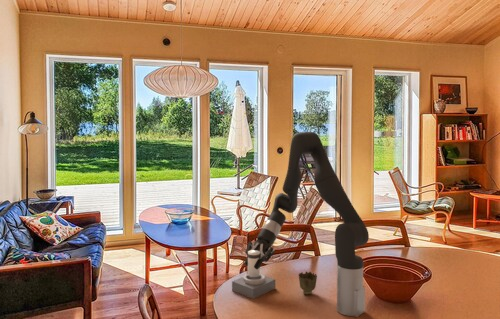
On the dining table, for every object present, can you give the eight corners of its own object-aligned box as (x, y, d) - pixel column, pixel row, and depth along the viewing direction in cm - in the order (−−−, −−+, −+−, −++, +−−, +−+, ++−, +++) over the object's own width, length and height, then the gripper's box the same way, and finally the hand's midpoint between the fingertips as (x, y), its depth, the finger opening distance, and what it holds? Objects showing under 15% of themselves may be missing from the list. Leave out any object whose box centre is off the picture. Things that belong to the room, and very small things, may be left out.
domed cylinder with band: (262, 274, 159) (262, 251, 158) (254, 278, 155) (254, 254, 155) (253, 271, 163) (253, 249, 162) (245, 275, 159) (245, 251, 158)
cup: (302, 298, 151) (302, 278, 150) (295, 291, 158) (295, 272, 157) (319, 296, 153) (320, 277, 152) (312, 289, 160) (312, 270, 159)
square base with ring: (275, 288, 160) (275, 275, 160) (253, 299, 150) (253, 285, 150) (254, 281, 168) (254, 269, 168) (232, 290, 158) (232, 277, 158)
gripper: (253, 225, 168) (234, 258, 160) (278, 230, 158) (259, 266, 150) (261, 234, 172) (242, 267, 164) (286, 240, 162) (267, 275, 155)
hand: (250, 266), depth 157 cm, fingers closed on domed cylinder with band, 5 cm apart
